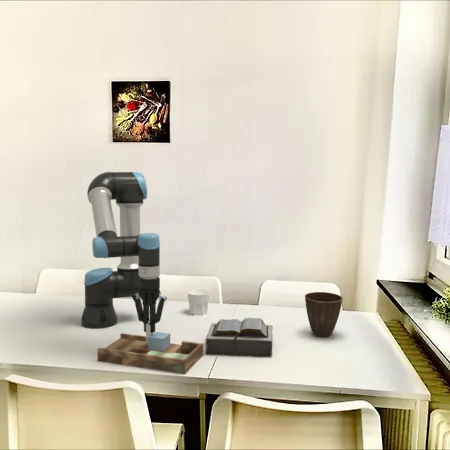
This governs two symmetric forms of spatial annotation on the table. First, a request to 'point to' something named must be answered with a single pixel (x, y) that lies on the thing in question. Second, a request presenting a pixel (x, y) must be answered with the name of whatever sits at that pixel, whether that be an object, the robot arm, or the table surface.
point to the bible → (240, 338)
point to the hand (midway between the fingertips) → (149, 340)
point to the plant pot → (323, 312)
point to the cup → (198, 301)
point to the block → (159, 341)
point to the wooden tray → (151, 354)
